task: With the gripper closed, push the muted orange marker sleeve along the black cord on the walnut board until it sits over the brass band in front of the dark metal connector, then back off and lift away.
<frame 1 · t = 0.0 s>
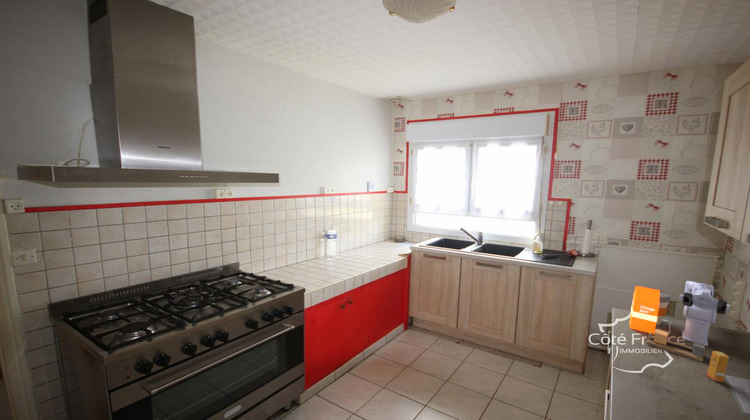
hand: (705, 306, 126), 22 cm above the countertop, tool horizontal, fingers open, 7 cm apart
marker sleeve: (660, 336, 137), point 4 cm above the countertop, slide at 0.0 cm
cord board: (673, 348, 135), on the countertop
supplement box: (715, 379, 116), on the countertop
orange juice: (641, 328, 152), on the countertop
reusable coffee cup: (649, 320, 159), on the countertop
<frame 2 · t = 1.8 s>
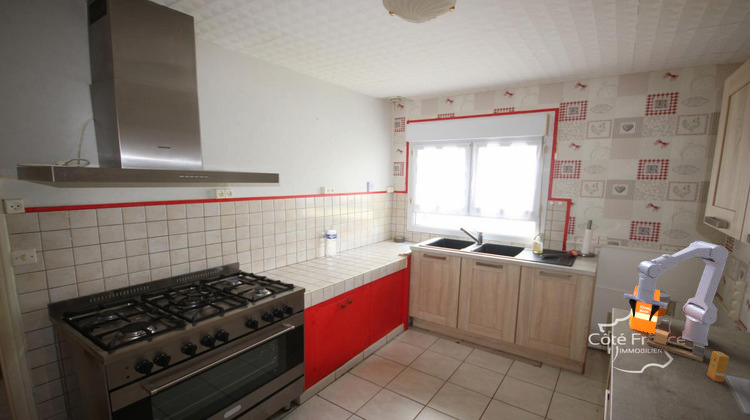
hand: (641, 318, 141), 9 cm above the countertop, tool pointing down, fingers open, 5 cm apart
nothing on the countertop moved.
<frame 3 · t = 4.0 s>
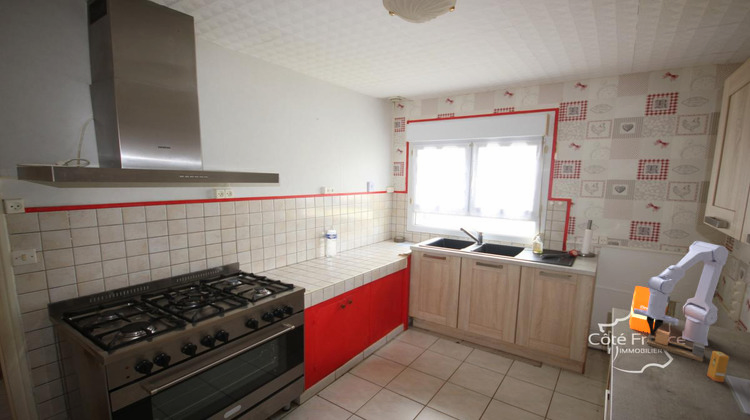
hand: (652, 334, 139), 4 cm above the countertop, tool pointing down, fingers closed
marker sleeve: (662, 337, 137), point 4 cm above the countertop, slide at 0.5 cm, touching gripper
everything else where it was.
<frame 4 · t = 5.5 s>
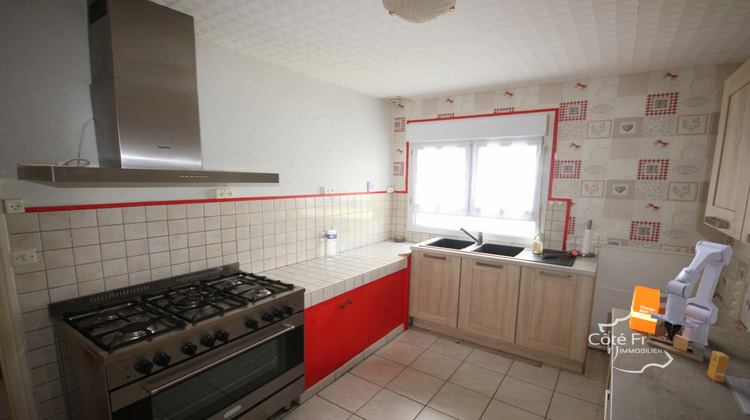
hand: (670, 339, 135), 4 cm above the countertop, tool pointing down, fingers closed
marker sleeve: (680, 342, 133), point 4 cm above the countertop, slide at 6.2 cm, touching gripper
everything else where it was.
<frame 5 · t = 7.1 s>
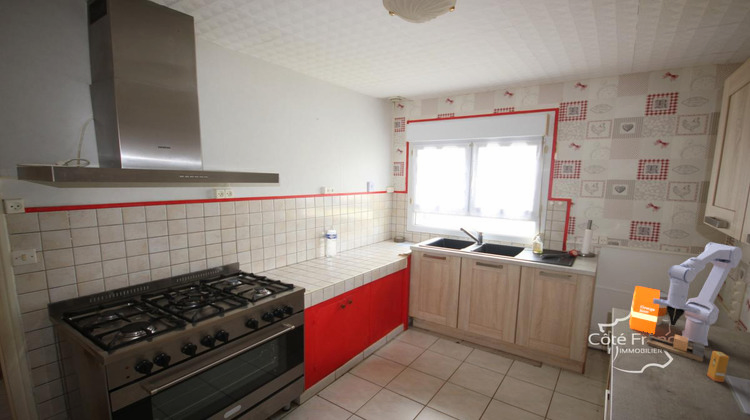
hand: (672, 324, 137), 9 cm above the countertop, tool pointing down, fingers closed
marker sleeve: (680, 342, 133), point 4 cm above the countertop, slide at 6.2 cm
everything else where it was.
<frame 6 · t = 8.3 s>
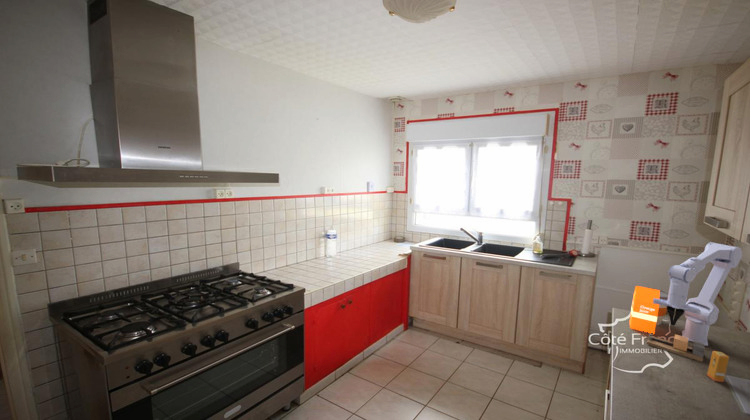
hand: (672, 324, 137), 9 cm above the countertop, tool pointing down, fingers closed
nothing on the countertop moved.
at the end: marker sleeve slide at 6.2 cm; marker sleeve touching nothing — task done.
